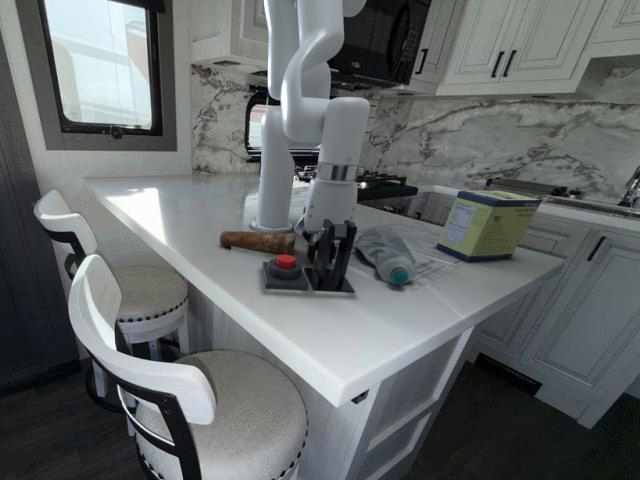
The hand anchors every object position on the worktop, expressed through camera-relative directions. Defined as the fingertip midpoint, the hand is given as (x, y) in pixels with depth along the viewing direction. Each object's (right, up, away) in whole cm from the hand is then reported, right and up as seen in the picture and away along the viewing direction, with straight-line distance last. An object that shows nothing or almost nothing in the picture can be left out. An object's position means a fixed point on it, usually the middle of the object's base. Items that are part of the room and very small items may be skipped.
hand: (319, 260), depth 68 cm
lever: (0, +2, -6) cm, 7 cm away
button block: (-9, -5, -6) cm, 12 cm away
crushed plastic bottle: (+15, -2, +2) cm, 16 cm away
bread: (-14, +3, +8) cm, 16 cm away
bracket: (0, -6, -6) cm, 8 cm away
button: (-9, -2, -8) cm, 12 cm away
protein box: (+46, +4, +15) cm, 48 cm away
